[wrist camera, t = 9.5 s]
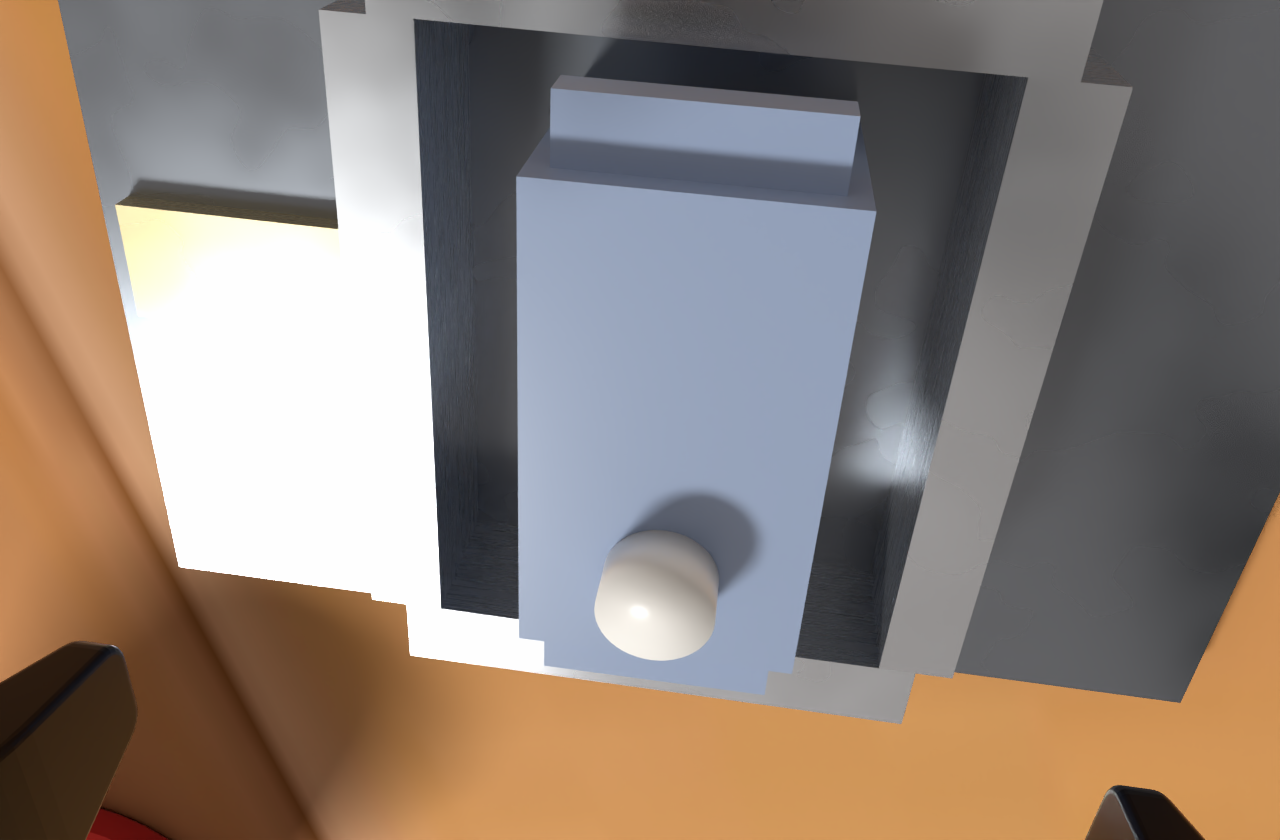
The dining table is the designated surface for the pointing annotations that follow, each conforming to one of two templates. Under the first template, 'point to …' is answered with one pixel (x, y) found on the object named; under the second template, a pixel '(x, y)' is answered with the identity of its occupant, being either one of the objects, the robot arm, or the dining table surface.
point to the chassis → (882, 344)
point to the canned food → (120, 828)
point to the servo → (681, 371)
